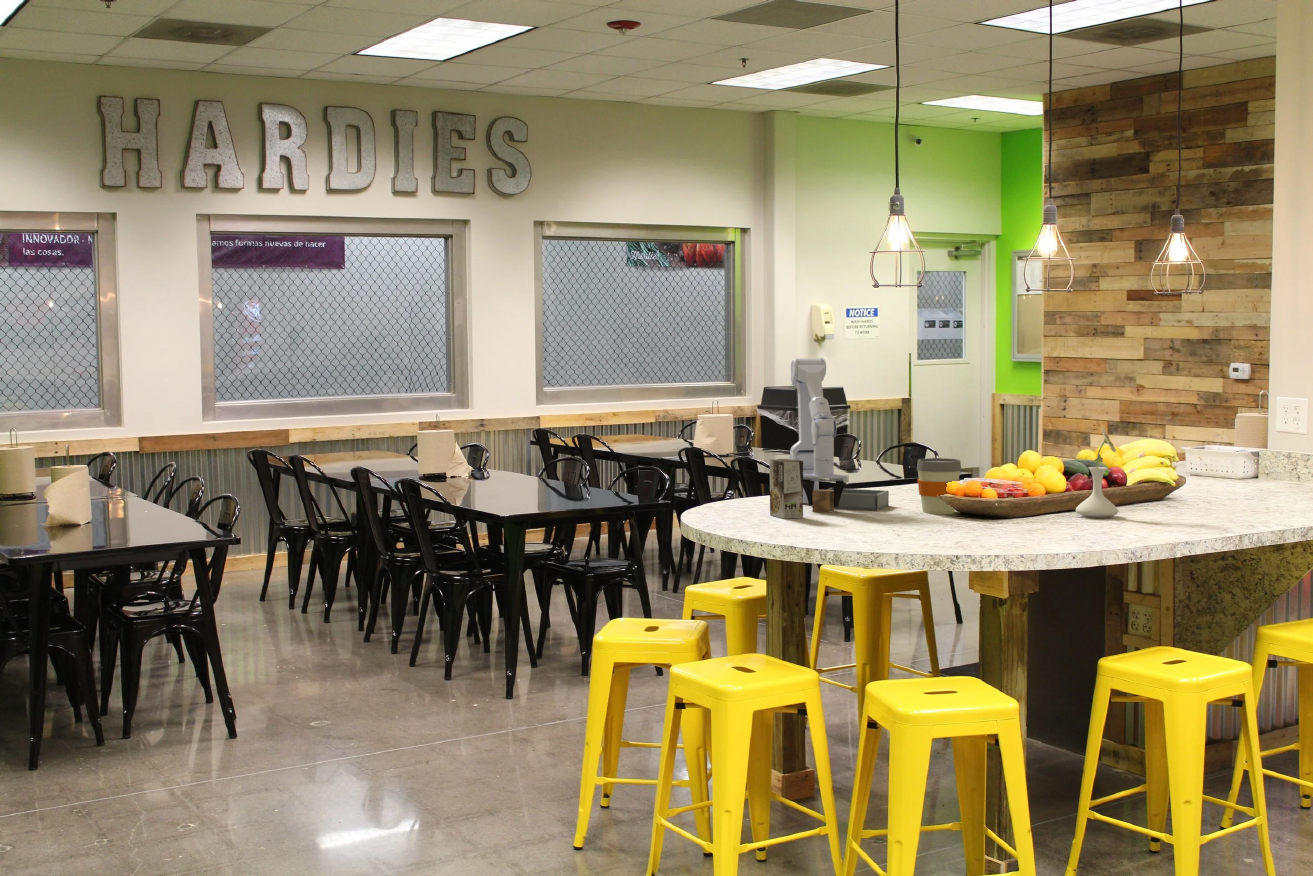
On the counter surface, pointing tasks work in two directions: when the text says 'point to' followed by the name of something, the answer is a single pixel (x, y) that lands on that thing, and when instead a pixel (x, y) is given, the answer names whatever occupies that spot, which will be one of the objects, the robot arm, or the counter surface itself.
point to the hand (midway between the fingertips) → (823, 506)
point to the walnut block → (823, 501)
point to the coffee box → (786, 488)
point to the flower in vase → (1098, 490)
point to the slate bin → (863, 499)
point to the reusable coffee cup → (936, 482)
